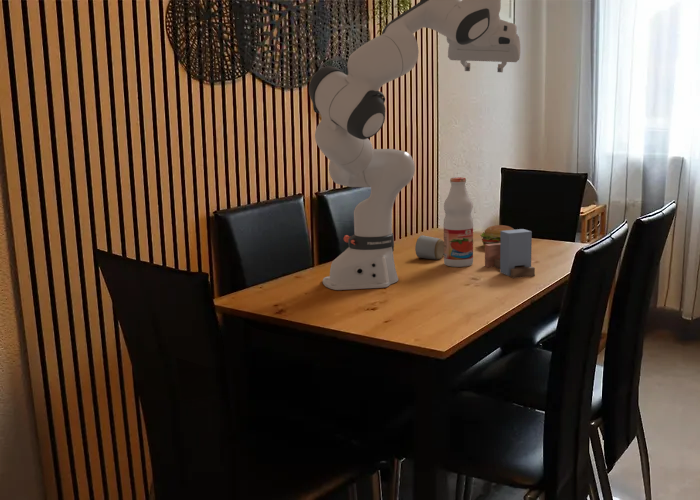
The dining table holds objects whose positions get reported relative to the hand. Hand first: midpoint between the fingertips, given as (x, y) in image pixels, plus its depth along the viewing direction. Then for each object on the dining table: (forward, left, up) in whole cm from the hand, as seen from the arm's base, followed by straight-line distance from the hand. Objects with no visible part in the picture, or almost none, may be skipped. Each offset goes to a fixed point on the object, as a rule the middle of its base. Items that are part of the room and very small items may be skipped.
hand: (483, 70), depth 205 cm
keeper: (+8, -6, -60) cm, 61 cm away
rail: (+8, -2, -60) cm, 61 cm away
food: (+23, +32, -61) cm, 72 cm away
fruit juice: (-2, +13, -60) cm, 62 cm away
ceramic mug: (-6, +26, -61) cm, 66 cm away
